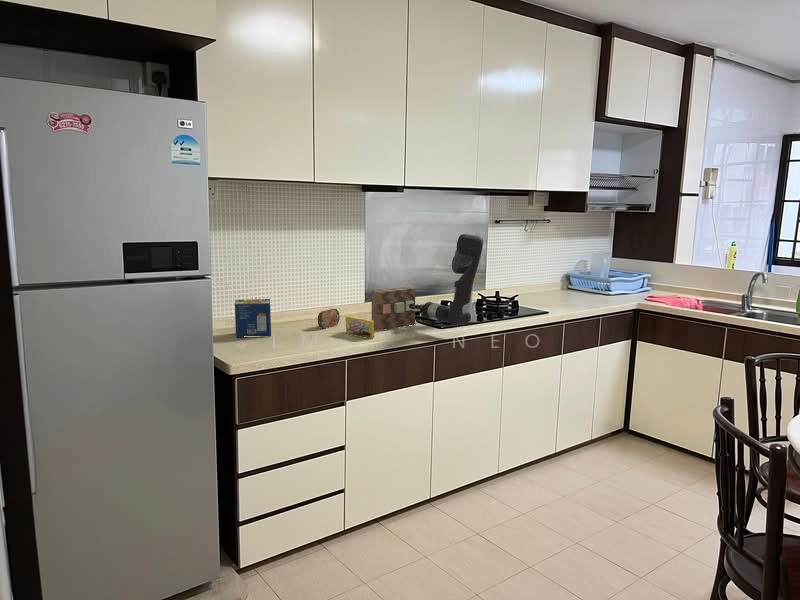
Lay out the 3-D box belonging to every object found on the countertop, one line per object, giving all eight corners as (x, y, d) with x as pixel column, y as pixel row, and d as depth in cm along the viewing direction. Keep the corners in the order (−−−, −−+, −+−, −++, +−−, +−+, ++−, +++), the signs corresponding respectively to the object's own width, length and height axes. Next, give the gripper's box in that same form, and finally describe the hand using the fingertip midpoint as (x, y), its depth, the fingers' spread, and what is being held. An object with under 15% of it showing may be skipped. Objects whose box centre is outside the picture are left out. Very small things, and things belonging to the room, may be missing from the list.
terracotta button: (386, 312, 279) (386, 302, 278) (390, 312, 277) (390, 303, 276) (379, 313, 277) (379, 303, 276) (383, 314, 274) (383, 304, 273)
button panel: (405, 322, 293) (406, 286, 290) (414, 325, 288) (415, 288, 285) (371, 328, 280) (371, 290, 277) (380, 330, 275) (380, 292, 272)
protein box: (236, 333, 268) (235, 299, 265) (271, 331, 271) (270, 298, 268) (235, 338, 258) (234, 303, 255) (271, 337, 261) (270, 302, 258)
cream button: (409, 308, 288) (409, 299, 287) (413, 309, 285) (413, 300, 285) (402, 309, 285) (402, 300, 284) (406, 310, 283) (406, 301, 282)
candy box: (345, 334, 268) (345, 316, 267) (348, 333, 270) (348, 315, 268) (371, 339, 258) (371, 321, 256) (374, 338, 259) (374, 320, 258)
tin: (321, 330, 275) (321, 312, 274) (316, 329, 277) (316, 311, 275) (340, 324, 288) (340, 307, 287) (335, 323, 290) (334, 306, 288)
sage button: (400, 310, 282) (400, 301, 282) (404, 311, 280) (404, 302, 279) (393, 311, 280) (393, 302, 279) (397, 312, 277) (397, 303, 277)
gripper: (445, 301, 274) (421, 296, 287) (423, 304, 265) (399, 299, 279) (444, 317, 275) (420, 312, 288) (423, 321, 267) (399, 315, 280)
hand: (410, 305), depth 284 cm, fingers closed
